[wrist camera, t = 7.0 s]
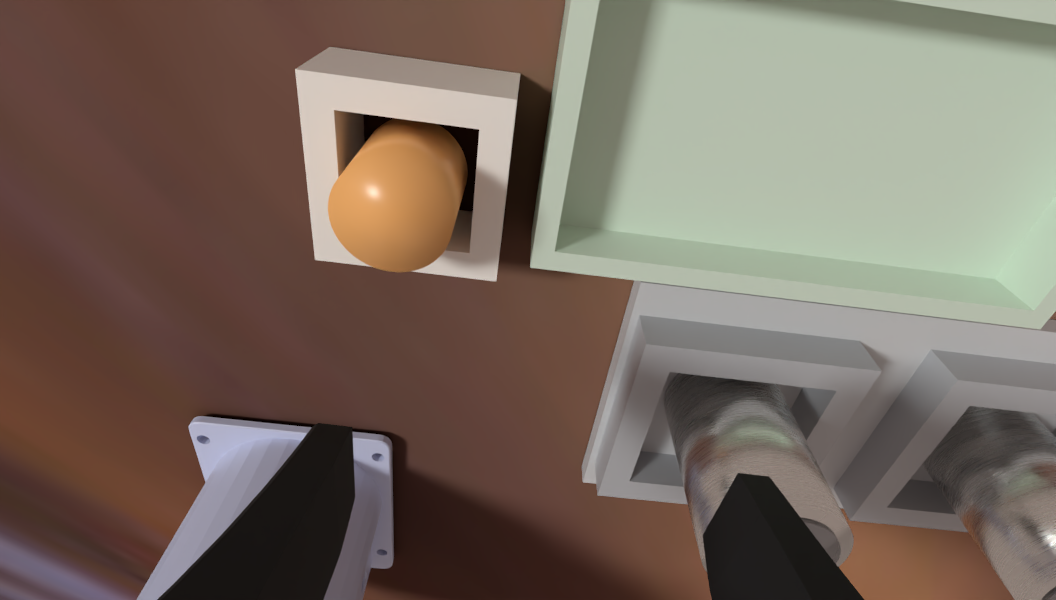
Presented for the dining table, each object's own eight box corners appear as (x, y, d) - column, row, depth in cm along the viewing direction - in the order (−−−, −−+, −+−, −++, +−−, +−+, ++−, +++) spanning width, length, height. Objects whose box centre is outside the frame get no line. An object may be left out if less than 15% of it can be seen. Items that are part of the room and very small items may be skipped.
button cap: (464, 222, 16) (449, 278, 13) (365, 209, 16) (332, 264, 13) (471, 124, 14) (455, 168, 12) (361, 109, 14) (323, 151, 12)
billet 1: (756, 439, 21) (823, 602, 16) (653, 431, 21) (687, 592, 16) (793, 359, 19) (883, 520, 14) (678, 350, 19) (726, 508, 14)
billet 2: (990, 475, 22) (1121, 640, 17) (895, 464, 22) (999, 629, 17) (1056, 404, 20) (1230, 571, 15) (951, 392, 20) (1091, 557, 15)
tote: (991, 288, 18) (1040, 329, 17) (531, 230, 18) (530, 267, 16) (1191, 11, 14) (1290, 27, 12) (578, -85, 13) (584, -84, 11)
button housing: (501, 238, 18) (496, 281, 16) (341, 218, 17) (314, 259, 15) (520, 73, 15) (517, 99, 13) (330, 47, 15) (295, 69, 13)
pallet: (981, 507, 25) (1017, 556, 23) (581, 466, 24) (584, 513, 22) (1152, 331, 19) (1219, 377, 17) (637, 268, 18) (648, 310, 16)
